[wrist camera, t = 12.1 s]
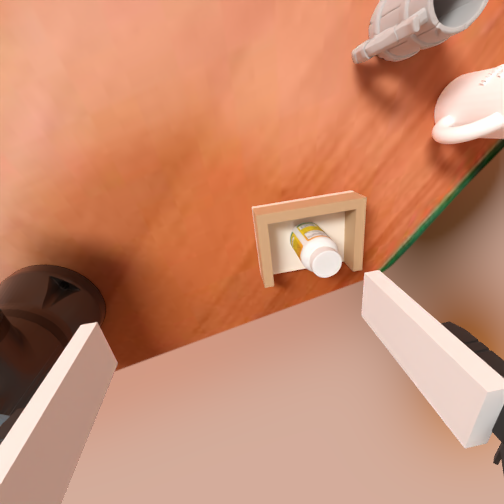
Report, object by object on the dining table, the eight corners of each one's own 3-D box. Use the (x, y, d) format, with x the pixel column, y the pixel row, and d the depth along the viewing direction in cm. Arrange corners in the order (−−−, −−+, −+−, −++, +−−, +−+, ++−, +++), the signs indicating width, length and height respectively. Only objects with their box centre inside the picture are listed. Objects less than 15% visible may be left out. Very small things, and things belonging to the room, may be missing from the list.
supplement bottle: (304, 214, 41) (328, 237, 32) (327, 233, 43) (355, 259, 34) (281, 240, 42) (299, 268, 34) (305, 257, 44) (326, 288, 36)
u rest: (260, 273, 46) (265, 287, 42) (251, 206, 40) (255, 215, 36) (349, 257, 47) (362, 269, 43) (351, 190, 41) (366, 197, 37)
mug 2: (401, 110, 37) (477, 103, 27) (481, 58, 36) (596, 29, 25) (416, 161, 41) (488, 174, 30) (489, 116, 39) (593, 113, 29)
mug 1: (431, 40, 34) (530, 0, 23) (350, 95, 36) (408, 82, 25) (415, -31, 31) (523, -114, 20) (327, 34, 32) (383, -12, 22)
